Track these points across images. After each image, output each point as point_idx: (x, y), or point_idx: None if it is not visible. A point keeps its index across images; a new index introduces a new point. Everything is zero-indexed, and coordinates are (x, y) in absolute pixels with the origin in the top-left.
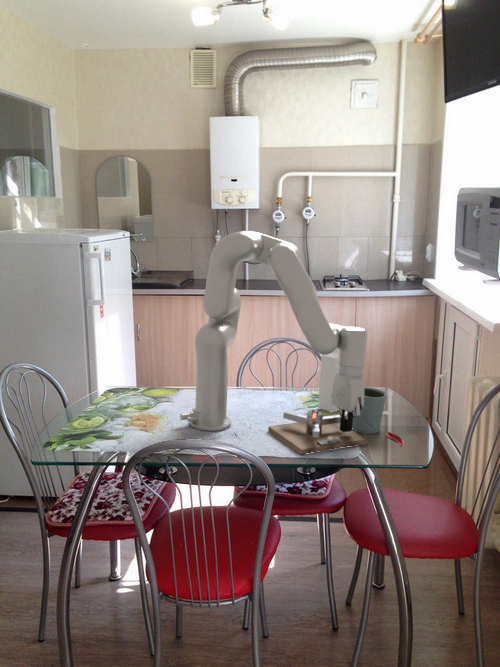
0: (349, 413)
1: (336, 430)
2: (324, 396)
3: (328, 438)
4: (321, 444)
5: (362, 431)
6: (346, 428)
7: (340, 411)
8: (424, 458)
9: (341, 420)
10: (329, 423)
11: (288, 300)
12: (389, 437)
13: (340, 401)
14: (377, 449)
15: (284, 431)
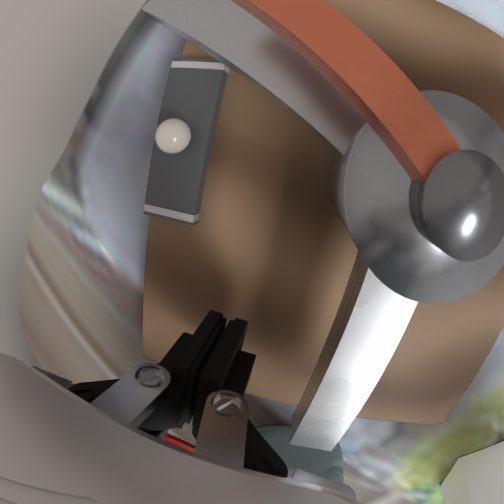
0: (86, 397)
1: (319, 345)
2: (502, 483)
3: (169, 119)
4: (175, 59)
5: (259, 431)
6: (187, 334)
7: (227, 432)
8: (38, 359)
9: (214, 362)
10: (335, 316)
11: None
12: (171, 438)
13: (94, 501)
14: (104, 329)
15: (485, 62)
